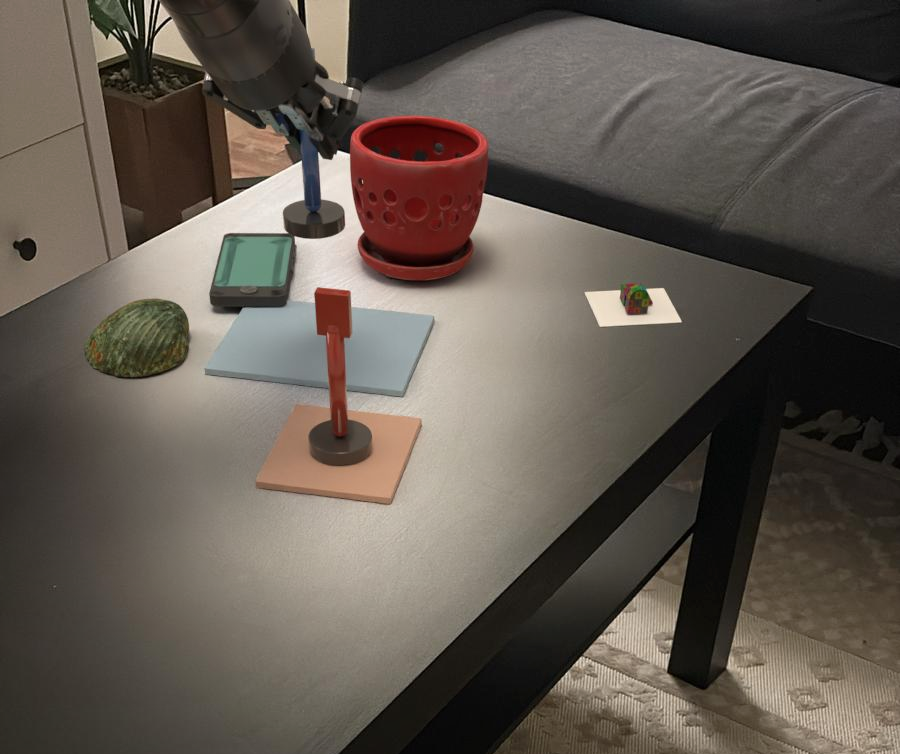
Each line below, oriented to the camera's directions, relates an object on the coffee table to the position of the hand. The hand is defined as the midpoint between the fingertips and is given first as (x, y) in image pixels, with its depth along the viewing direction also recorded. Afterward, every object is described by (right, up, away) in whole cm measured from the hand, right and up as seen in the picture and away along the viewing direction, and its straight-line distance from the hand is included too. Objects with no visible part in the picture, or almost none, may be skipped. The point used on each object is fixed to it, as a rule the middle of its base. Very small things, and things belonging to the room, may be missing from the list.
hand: (319, 146), depth 106 cm
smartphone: (-8, -2, +20) cm, 22 cm away
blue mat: (-1, -13, +11) cm, 17 cm away
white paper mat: (+28, -7, +18) cm, 34 cm away
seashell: (-17, -13, +11) cm, 24 cm away
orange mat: (+2, -26, -1) cm, 26 cm away
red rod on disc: (+2, -25, -1) cm, 25 cm away
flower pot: (+8, 0, +24) cm, 25 cm away
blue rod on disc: (-1, -5, +3) cm, 6 cm away
